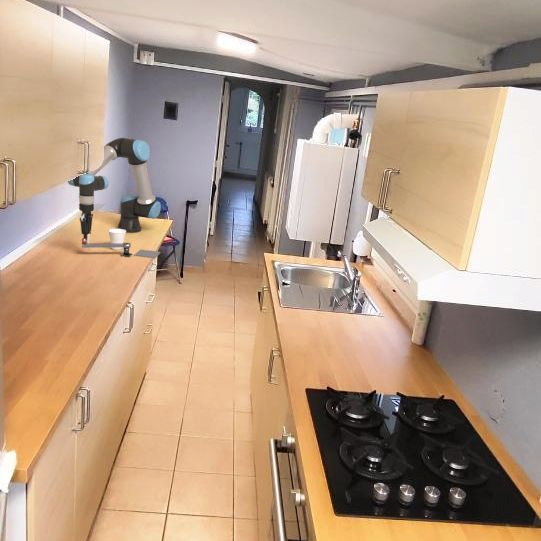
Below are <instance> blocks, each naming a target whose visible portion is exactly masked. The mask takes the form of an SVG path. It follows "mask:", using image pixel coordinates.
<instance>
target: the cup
mask: <svg viewBox="0 0 541 541" xmlns="http://www.w3.org/2000/svg"><path fill="white" fill-rule="evenodd" d="M107 231H108V233H109V242H110V243H125V237H126V233H127V232H126V230H123V229H118V228H110V229H108V230H107ZM110 248H111V250H113V251H121V250H123V249H124V247H110Z"/></svg>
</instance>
